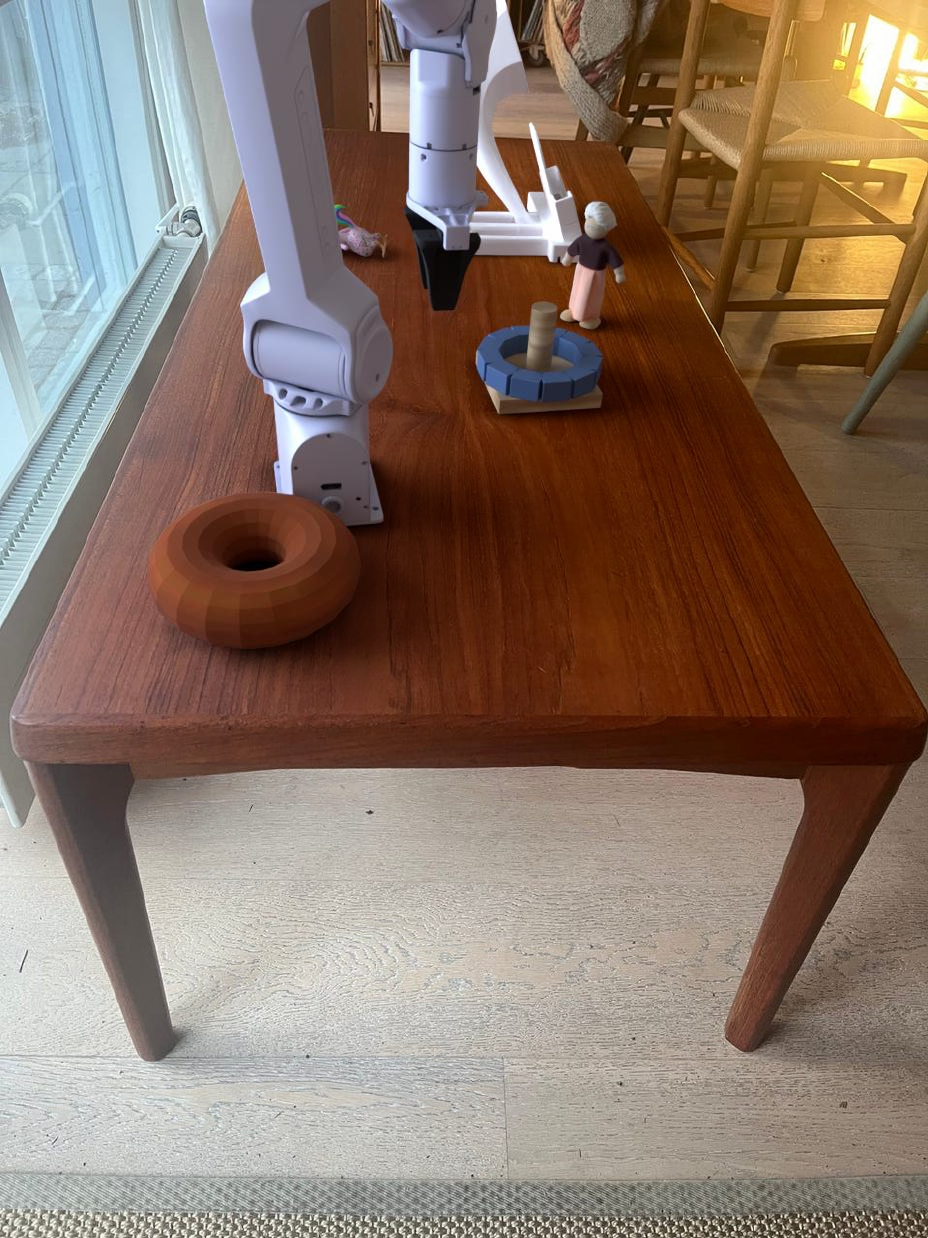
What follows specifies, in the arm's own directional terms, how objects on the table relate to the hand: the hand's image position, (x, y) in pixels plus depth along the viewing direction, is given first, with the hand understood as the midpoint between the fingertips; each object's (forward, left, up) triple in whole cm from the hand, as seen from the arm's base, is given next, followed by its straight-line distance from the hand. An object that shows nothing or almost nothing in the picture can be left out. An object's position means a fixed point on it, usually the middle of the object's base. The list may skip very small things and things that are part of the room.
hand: (438, 297), depth 90 cm
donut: (-30, +19, -8) cm, 36 cm away
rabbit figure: (+32, +8, -8) cm, 34 cm away
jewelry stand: (+39, -16, -8) cm, 43 cm away
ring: (-3, -9, -6) cm, 12 cm away
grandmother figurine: (+10, -18, -8) cm, 23 cm away
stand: (-3, -9, -8) cm, 13 cm away
